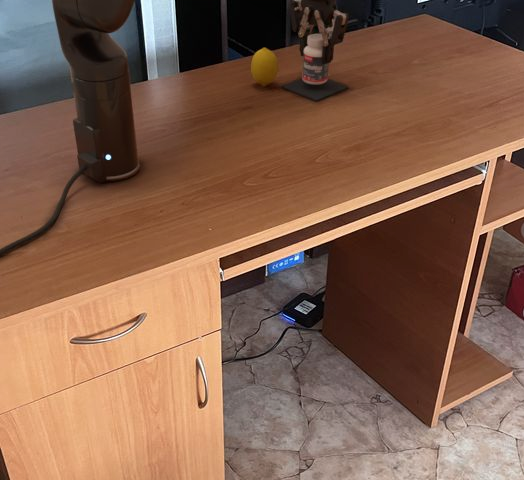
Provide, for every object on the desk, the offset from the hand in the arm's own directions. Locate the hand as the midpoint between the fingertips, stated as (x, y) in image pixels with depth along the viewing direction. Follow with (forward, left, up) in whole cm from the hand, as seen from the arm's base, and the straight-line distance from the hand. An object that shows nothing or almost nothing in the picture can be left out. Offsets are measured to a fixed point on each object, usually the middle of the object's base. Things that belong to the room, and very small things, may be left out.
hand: (315, 58), depth 160 cm
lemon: (-7, +8, -6) cm, 12 cm away
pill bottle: (0, 0, -5) cm, 5 cm away
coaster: (0, 0, -6) cm, 6 cm away
